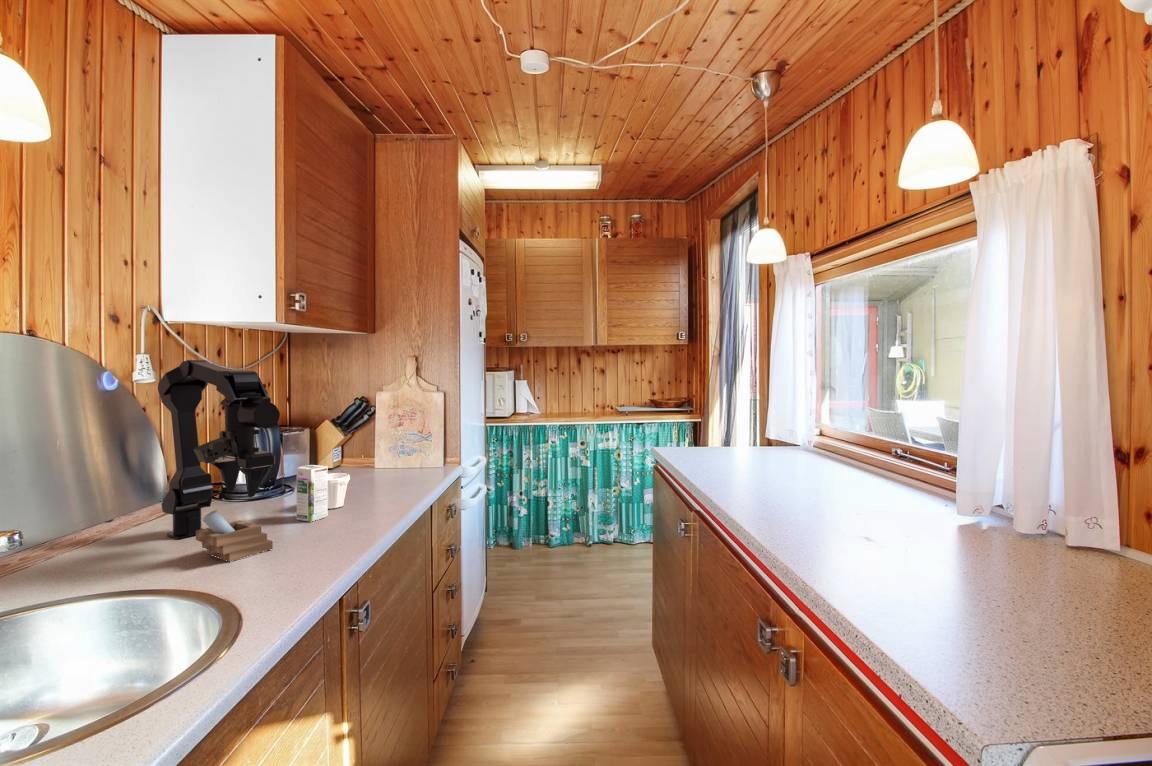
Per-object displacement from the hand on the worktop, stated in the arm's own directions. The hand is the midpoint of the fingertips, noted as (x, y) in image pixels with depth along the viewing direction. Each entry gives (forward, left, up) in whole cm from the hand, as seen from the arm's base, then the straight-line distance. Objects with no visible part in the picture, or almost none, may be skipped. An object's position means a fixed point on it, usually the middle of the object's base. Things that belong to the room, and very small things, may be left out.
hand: (240, 493), depth 117 cm
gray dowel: (+2, -2, -11) cm, 12 cm away
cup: (-15, +33, -13) cm, 39 cm away
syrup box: (-9, +23, -13) cm, 28 cm away
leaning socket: (+2, -2, -13) cm, 13 cm away
